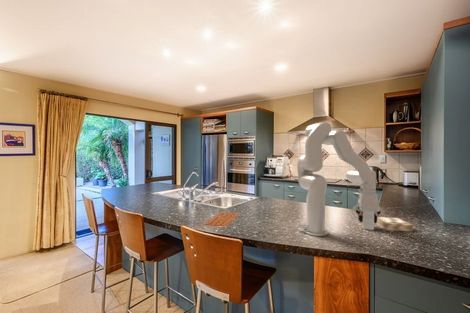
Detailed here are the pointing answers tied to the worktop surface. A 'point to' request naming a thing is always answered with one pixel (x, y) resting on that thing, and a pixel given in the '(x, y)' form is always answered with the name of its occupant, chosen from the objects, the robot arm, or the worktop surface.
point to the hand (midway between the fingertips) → (367, 221)
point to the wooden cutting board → (222, 219)
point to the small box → (368, 220)
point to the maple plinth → (394, 224)
